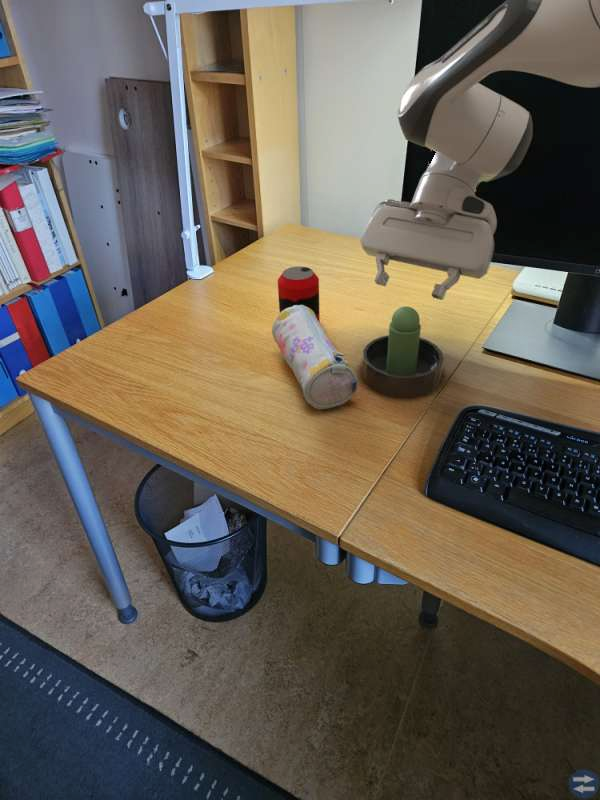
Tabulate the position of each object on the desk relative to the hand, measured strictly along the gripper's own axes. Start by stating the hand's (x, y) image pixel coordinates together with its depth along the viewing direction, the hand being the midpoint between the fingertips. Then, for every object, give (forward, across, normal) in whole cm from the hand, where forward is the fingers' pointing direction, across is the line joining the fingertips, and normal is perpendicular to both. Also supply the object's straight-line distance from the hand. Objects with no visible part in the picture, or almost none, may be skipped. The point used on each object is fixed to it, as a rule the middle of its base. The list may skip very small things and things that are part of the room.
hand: (407, 290), depth 85 cm
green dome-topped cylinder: (+10, 0, +12) cm, 16 cm away
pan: (+11, 0, +12) cm, 16 cm away
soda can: (+8, -23, +15) cm, 29 cm away
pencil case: (+17, -13, +6) cm, 22 cm away
